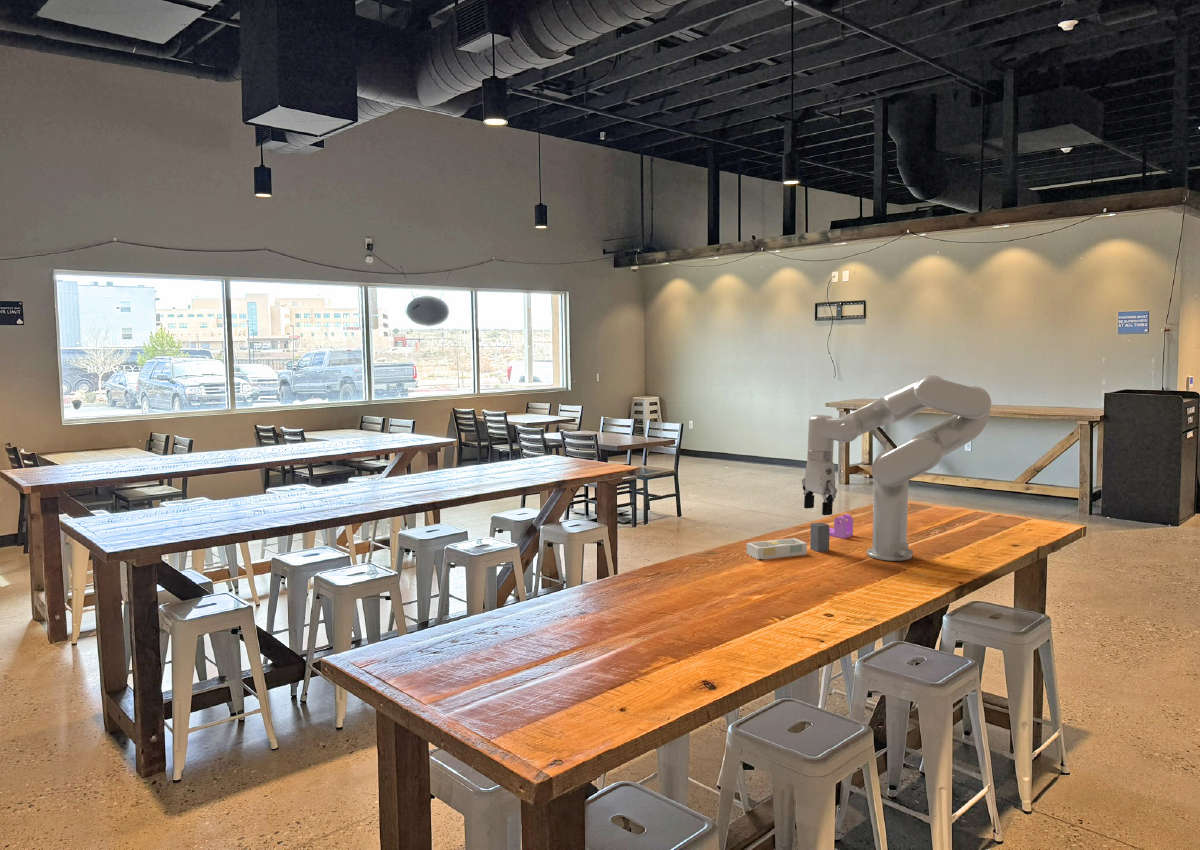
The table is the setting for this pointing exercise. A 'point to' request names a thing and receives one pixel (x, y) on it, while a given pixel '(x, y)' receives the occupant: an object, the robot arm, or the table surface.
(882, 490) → the robot arm
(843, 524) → the bracket
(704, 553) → the table surface
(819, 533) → the plug
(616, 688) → the table surface
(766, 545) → the socket block
